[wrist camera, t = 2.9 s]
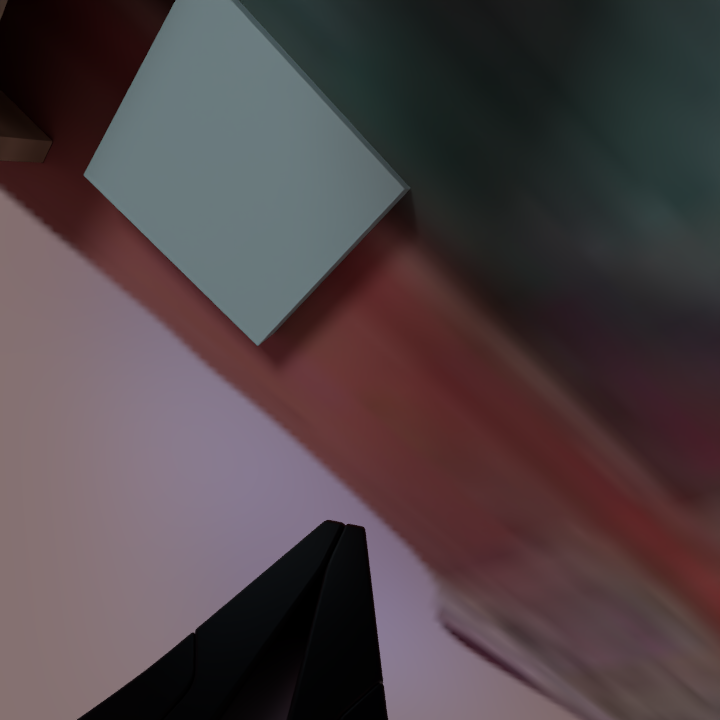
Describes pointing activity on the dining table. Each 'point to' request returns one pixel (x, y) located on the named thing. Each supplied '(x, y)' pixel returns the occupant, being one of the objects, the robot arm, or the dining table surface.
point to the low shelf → (19, 131)
